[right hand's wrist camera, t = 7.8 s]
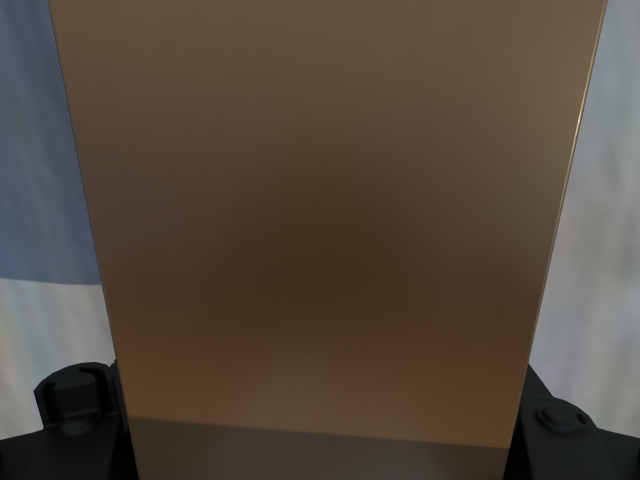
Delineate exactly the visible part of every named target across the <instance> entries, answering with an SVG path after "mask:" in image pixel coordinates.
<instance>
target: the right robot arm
mask: <svg viewBox="0 0 640 480" xmlns="http://www.w3.org/2000/svg"><path fill="white" fill-rule="evenodd" d="M34 395H35V398H36V402H37V405H38V409H39V412H40V416H41V419H42V423H43V426H44V428H43V430H40V431H37V432H33V433H29V434H25V435H20V436H16V437H11V438H7V439H3V440H0V480H139V477H138V472H137V467H136V462H135V456H134V451H133V446H132V440H131V435H130V430H129V425H128V419H127V414H126V409H125V404H124V398H123V393H122V388H121V383H120V377H119V372H118V367H117V361H116V359H115V361H114V363H112V365H111V366H110V367H109V366H107V365H106V364H102V363H98V362H88V363H79V364H75V365H71V366H68V367H65V368H63V369H61V370H59V371H56V372H54V373H52V374H51V375H49V376H48V377H47V378H45V379H44V380H42V381H41V382H40V383H39V385H38V386H37V387H36V388H35V390H34ZM503 480H640V438H637V437H632V436H628V435H623V434H619V433H615V432H610V431H606V430H603V429H599V428H597V427H596V425H595V424H594V422H593V421H592V419H591V418H590V416H588V415H587V414H586V413H585V412H583V411H582V410H581V409H580V408H579V407H577V406H575V405H573V404H571V403H569V402H567V401H565V400H562V399H558V398H555V397H553V396H552V394H551V393H550V392H549V390H548V389H547V388H546V386H545V385H544V384H543V382H542V381H541V380H540V378H539V377H538V375H537V374H536V373H535V371H534V370H533V369H532V367H531V366H530V365H529V363H528V366H527V371H526V375H525V380H524V385H523V389H522V394H521V398H520V403H519V407H518V412H517V417H516V421H515V426H514V430H513V435H512V439H511V444H510V449H509V453H508V458H507V462H506V467H505V471H504V476H503Z"/></svg>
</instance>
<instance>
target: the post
mask: <svg viewBox="0 0 640 480" xmlns="http://www.w3.org/2000/svg"><path fill="white" fill-rule="evenodd" d="M607 1H608V0H48V3H49V8H50V14H51V19H52V24H53V29H54V35H55V40H56V45H57V51H58V56H59V61H60V66H61V72H62V77H63V82H64V87H65V93H66V98H67V103H68V108H69V114H70V119H71V124H72V130H73V135H74V140H75V145H76V151H77V156H78V161H79V166H80V172H81V177H82V182H83V188H84V193H85V198H86V203H87V209H88V214H89V219H90V224H91V230H92V235H93V240H94V246H95V251H96V256H97V261H98V267H99V272H100V277H101V282H102V288H103V293H104V298H105V303H106V309H107V314H108V319H109V325H110V330H111V335H112V340H113V346H114V351H115V356H116V361H117V367H118V372H119V377H120V383H121V388H122V393H123V398H124V404H125V409H126V414H127V419H128V425H129V430H130V435H131V440H132V446H133V451H134V456H135V462H136V467H137V472H138V477H139V480H503V476H504V471H505V467H506V462H507V458H508V453H509V449H510V444H511V439H512V435H513V430H514V426H515V421H516V417H517V412H518V407H519V403H520V398H521V394H522V389H523V385H524V380H525V375H526V371H527V366H528V362H529V357H530V353H531V348H532V344H533V339H534V334H535V330H536V325H537V321H538V316H539V312H540V307H541V302H542V298H543V293H544V289H545V284H546V280H547V275H548V270H549V266H550V261H551V257H552V252H553V248H554V243H555V238H556V234H557V229H558V225H559V220H560V216H561V211H562V206H563V202H564V197H565V193H566V188H567V184H568V179H569V174H570V170H571V165H572V161H573V156H574V152H575V147H576V142H577V138H578V133H579V129H580V124H581V120H582V115H583V110H584V106H585V101H586V97H587V92H588V88H589V83H590V79H591V74H592V69H593V65H594V60H595V56H596V51H597V47H598V42H599V37H600V33H601V28H602V24H603V19H604V15H605V10H606V5H607Z"/></svg>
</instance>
